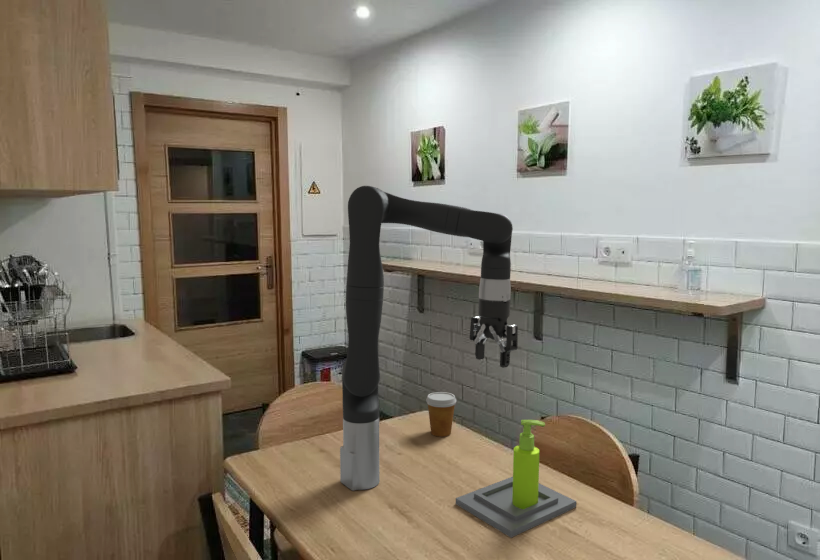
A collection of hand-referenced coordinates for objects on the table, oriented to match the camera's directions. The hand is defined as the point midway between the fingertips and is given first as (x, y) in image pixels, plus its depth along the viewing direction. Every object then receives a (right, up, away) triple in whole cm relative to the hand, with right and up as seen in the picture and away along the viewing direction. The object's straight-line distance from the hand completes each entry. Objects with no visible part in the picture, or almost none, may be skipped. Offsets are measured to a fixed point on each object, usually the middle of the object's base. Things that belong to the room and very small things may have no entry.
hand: (491, 362), depth 142 cm
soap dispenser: (+8, -32, -6) cm, 34 cm away
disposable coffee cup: (-10, -28, +42) cm, 52 cm away
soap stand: (+5, -33, -4) cm, 34 cm away
